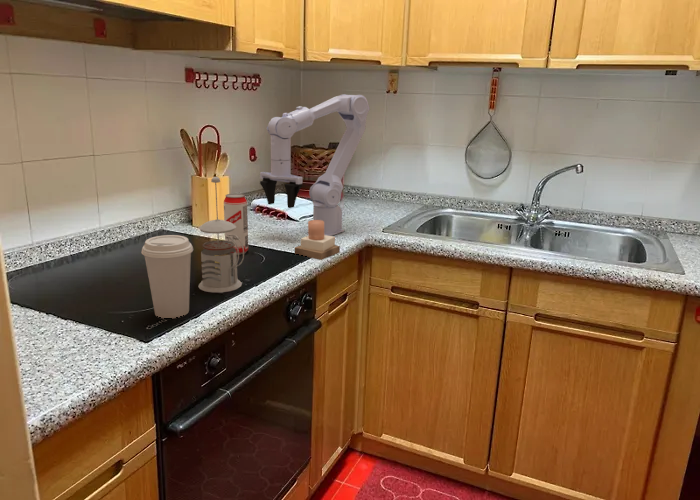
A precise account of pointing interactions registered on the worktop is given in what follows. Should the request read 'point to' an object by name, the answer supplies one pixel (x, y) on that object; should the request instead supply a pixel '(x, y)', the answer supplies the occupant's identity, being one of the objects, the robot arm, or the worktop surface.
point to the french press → (224, 275)
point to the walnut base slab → (317, 252)
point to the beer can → (237, 220)
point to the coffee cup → (169, 274)
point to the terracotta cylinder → (316, 229)
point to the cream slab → (318, 243)
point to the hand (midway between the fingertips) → (280, 205)
